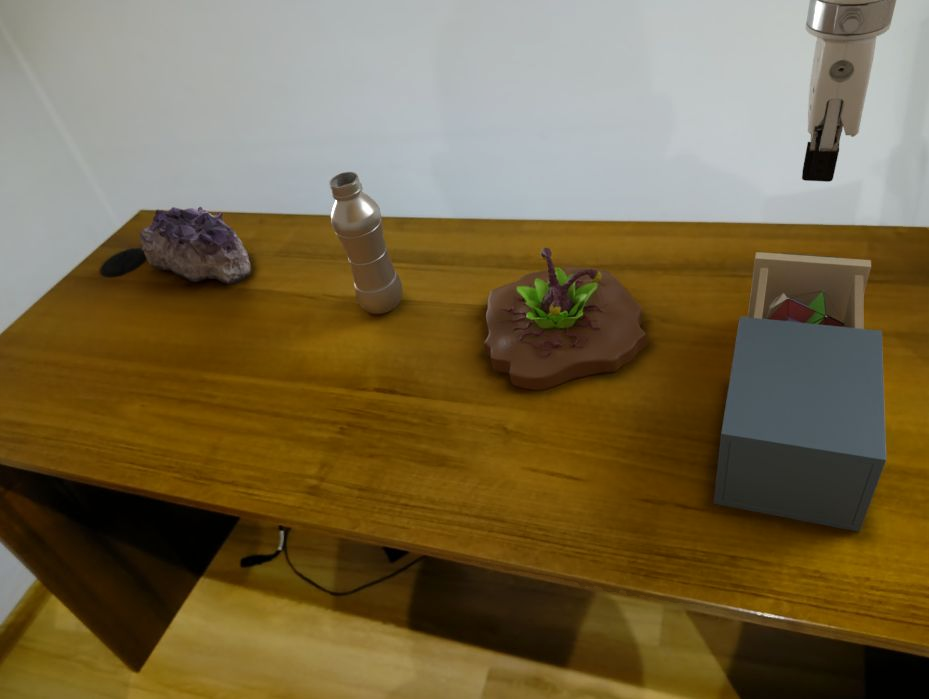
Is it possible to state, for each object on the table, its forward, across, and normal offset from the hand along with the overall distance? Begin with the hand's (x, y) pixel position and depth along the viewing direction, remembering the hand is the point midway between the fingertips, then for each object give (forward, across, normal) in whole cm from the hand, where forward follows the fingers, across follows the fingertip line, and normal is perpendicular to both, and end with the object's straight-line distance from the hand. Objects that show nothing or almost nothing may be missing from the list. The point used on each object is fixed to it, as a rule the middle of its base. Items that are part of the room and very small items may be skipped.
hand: (817, 177), depth 82 cm
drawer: (+13, -15, -1) cm, 20 cm away
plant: (+14, -16, +27) cm, 34 cm away
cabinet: (+14, -30, -1) cm, 33 cm away
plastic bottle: (+15, -15, +53) cm, 57 cm away
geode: (+15, -10, +88) cm, 90 cm away
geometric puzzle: (+12, -16, 0) cm, 20 cm away
